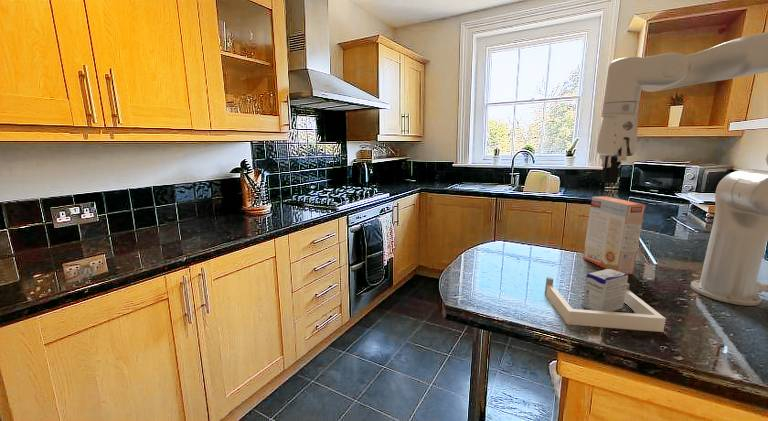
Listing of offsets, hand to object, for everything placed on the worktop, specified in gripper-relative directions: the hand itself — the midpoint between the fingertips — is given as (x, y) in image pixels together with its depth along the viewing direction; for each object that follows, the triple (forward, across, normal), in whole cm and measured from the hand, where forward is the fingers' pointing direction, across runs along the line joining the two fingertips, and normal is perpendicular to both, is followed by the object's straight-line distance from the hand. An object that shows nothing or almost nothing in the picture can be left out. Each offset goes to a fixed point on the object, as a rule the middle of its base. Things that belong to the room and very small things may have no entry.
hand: (608, 182), depth 88 cm
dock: (+27, -20, +8) cm, 35 cm away
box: (+27, -18, +6) cm, 34 cm away
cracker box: (+27, +10, -8) cm, 30 cm away
